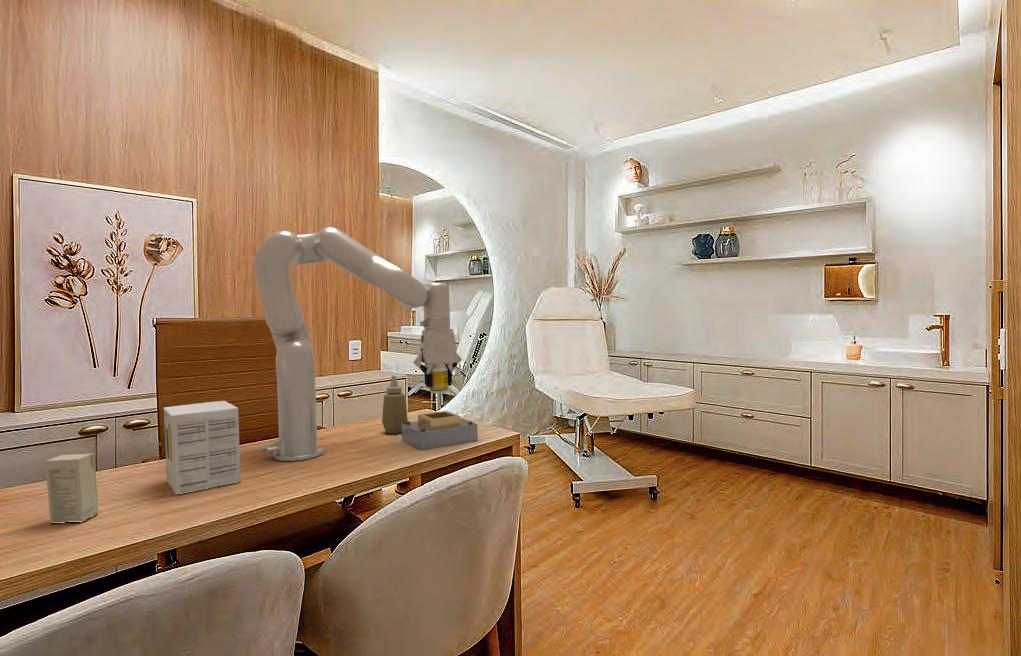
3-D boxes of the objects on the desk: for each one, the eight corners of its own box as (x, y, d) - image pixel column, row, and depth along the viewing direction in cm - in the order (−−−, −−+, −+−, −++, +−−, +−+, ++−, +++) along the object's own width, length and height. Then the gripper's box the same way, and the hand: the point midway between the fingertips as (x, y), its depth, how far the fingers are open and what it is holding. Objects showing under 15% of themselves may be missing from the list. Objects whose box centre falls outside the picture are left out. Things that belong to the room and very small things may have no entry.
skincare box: (99, 514, 105) (96, 452, 104) (82, 523, 100) (79, 459, 100) (66, 515, 104) (62, 453, 104) (47, 524, 100) (44, 459, 100)
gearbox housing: (420, 450, 148) (420, 423, 148) (401, 440, 160) (401, 415, 160) (477, 440, 158) (477, 415, 158) (456, 431, 170) (455, 408, 169)
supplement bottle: (432, 390, 161) (431, 358, 161) (449, 390, 161) (449, 358, 160) (427, 393, 156) (427, 360, 155) (446, 393, 155) (445, 360, 155)
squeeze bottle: (379, 430, 172) (378, 375, 171) (404, 428, 176) (403, 373, 175) (385, 436, 165) (383, 378, 164) (410, 433, 168) (409, 376, 168)
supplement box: (165, 481, 124) (162, 406, 124) (228, 469, 133) (225, 399, 132) (174, 496, 114) (171, 415, 113) (241, 483, 123) (239, 407, 122)
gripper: (414, 326, 150) (416, 390, 150) (469, 324, 159) (470, 384, 160) (404, 325, 156) (406, 387, 157) (457, 323, 165) (458, 382, 166)
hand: (438, 385), depth 158 cm, fingers closed on supplement bottle, 5 cm apart
